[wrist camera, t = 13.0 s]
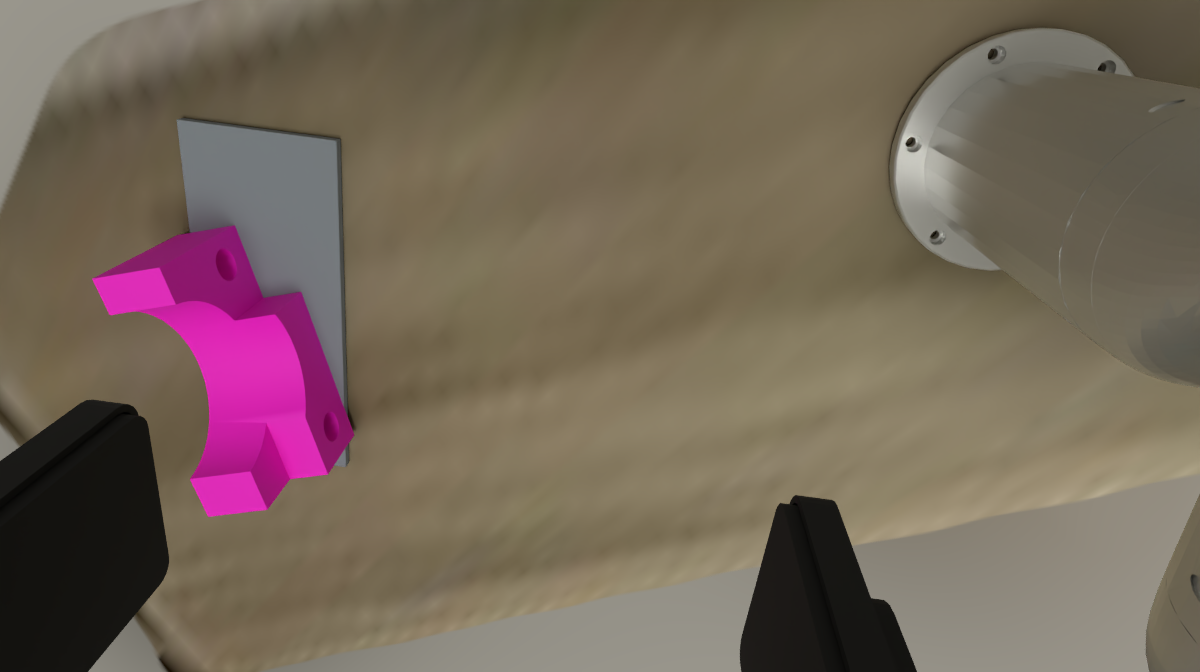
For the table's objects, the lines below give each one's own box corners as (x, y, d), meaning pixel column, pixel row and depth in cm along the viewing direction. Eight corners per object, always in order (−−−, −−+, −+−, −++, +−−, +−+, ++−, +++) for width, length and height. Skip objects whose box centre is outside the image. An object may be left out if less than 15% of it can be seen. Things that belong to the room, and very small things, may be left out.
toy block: (354, 434, 50) (307, 504, 43) (267, 446, 51) (208, 516, 44) (274, 218, 44) (205, 259, 37) (177, 235, 45) (92, 278, 38)
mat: (340, 138, 42) (336, 140, 42) (348, 462, 51) (345, 467, 51) (183, 117, 42) (176, 119, 42) (219, 444, 52) (215, 449, 51)
